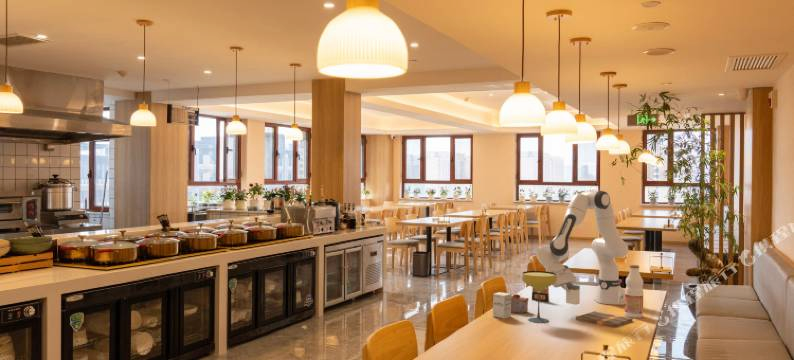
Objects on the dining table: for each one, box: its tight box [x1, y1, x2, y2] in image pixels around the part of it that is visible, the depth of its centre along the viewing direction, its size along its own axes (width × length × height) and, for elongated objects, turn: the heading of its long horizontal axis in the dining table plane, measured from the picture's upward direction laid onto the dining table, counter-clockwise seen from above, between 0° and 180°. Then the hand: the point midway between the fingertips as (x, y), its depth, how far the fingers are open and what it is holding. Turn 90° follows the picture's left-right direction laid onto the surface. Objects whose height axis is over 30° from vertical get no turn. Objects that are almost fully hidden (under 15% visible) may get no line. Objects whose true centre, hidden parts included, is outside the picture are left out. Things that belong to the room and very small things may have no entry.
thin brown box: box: [531, 287, 550, 303], centre depth 380 cm, size 11×2×12 cm, turn 53°
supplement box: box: [492, 291, 512, 320], centre depth 337 cm, size 7×7×13 cm
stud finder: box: [565, 284, 581, 306], centre depth 345 cm, size 4×6×10 cm, turn 43°
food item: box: [511, 293, 529, 314], centre depth 350 cm, size 14×8×10 cm, turn 65°
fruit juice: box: [624, 264, 644, 319], centre depth 342 cm, size 9×9×28 cm
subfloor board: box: [575, 310, 633, 328], centre depth 331 cm, size 20×22×2 cm
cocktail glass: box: [521, 270, 557, 324], centre depth 329 cm, size 18×18×25 cm
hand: (571, 290), depth 345 cm, fingers closed on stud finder, 4 cm apart
